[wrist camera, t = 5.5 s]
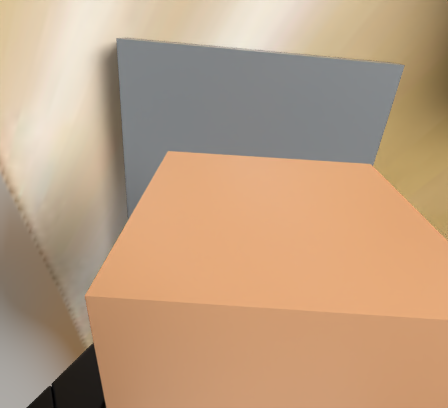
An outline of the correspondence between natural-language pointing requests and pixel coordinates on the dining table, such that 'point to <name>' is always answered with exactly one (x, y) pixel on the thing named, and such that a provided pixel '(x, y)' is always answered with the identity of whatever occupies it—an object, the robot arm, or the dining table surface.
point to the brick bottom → (272, 290)
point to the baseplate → (247, 105)
